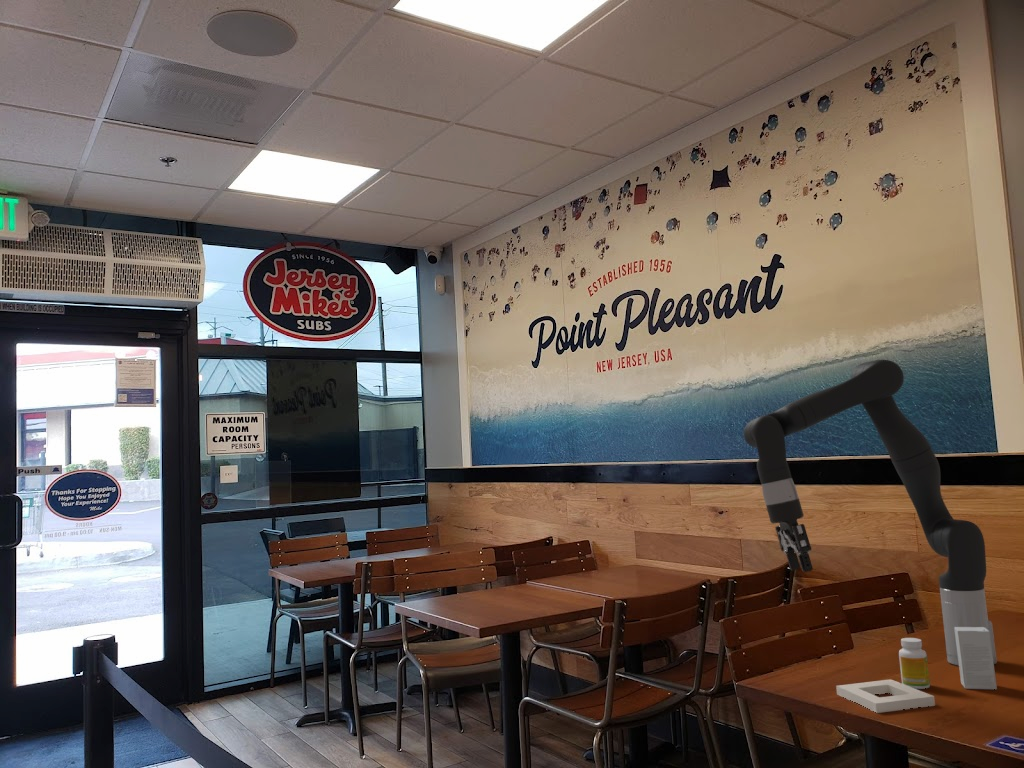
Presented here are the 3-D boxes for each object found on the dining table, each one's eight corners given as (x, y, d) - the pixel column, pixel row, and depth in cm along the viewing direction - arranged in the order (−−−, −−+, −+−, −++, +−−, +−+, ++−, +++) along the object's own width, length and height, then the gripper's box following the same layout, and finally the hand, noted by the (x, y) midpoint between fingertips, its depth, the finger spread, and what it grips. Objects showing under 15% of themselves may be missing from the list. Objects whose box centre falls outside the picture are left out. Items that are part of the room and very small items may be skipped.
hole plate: (891, 688, 167) (890, 679, 167) (935, 705, 154) (934, 696, 154) (837, 694, 164) (836, 685, 164) (876, 713, 152) (875, 703, 152)
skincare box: (992, 684, 166) (985, 626, 167) (997, 690, 161) (990, 631, 163) (959, 683, 167) (953, 626, 169) (964, 689, 163) (957, 630, 165)
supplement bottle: (933, 689, 164) (928, 642, 165) (906, 689, 165) (901, 642, 166) (925, 682, 169) (920, 636, 170) (898, 682, 170) (894, 636, 171)
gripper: (808, 495, 174) (829, 568, 171) (788, 498, 188) (807, 565, 185) (775, 502, 174) (795, 575, 171) (757, 504, 188) (776, 572, 185)
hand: (801, 570), depth 178 cm, fingers open, 8 cm apart
